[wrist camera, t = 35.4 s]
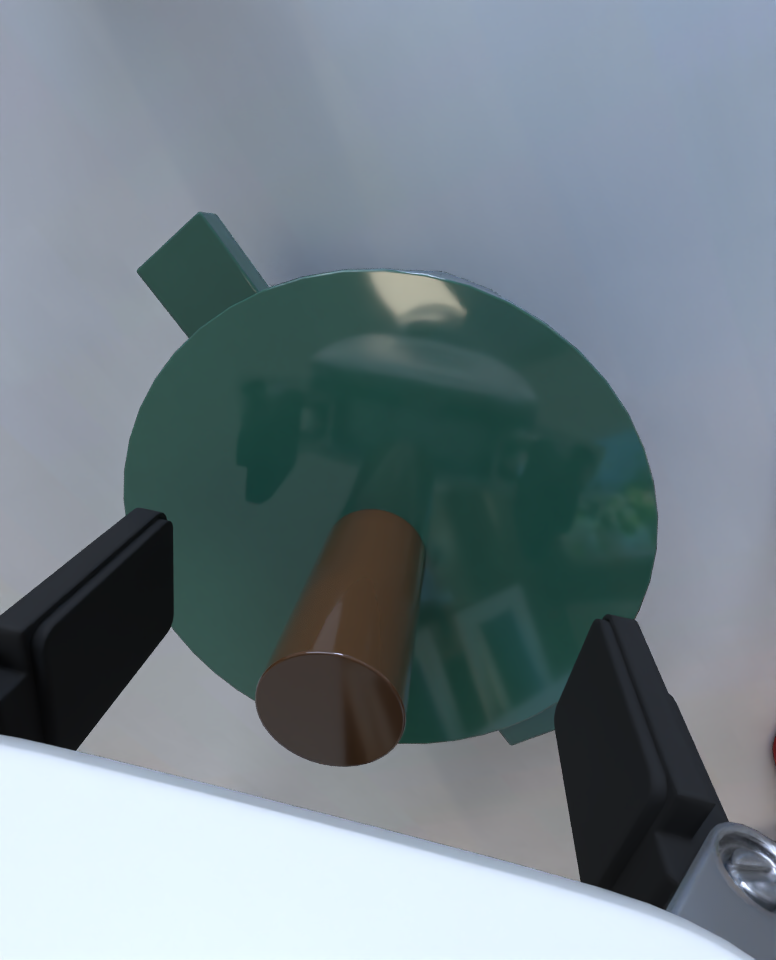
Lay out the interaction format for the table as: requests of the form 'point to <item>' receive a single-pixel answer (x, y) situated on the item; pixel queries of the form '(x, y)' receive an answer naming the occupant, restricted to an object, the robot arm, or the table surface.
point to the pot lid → (391, 507)
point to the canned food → (774, 750)
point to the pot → (223, 282)
